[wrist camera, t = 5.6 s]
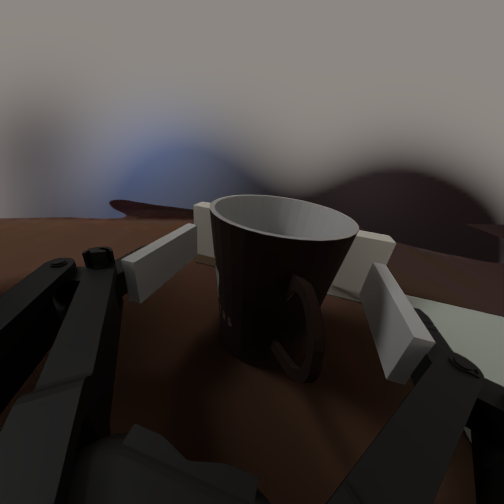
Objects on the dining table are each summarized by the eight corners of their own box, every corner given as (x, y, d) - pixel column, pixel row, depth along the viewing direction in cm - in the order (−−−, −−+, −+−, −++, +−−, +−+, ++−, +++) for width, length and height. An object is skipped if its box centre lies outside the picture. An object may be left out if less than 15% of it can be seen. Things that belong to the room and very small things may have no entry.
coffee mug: (236, 286, 22) (245, 189, 17) (319, 315, 19) (354, 210, 15) (149, 392, 12) (118, 230, 8) (296, 476, 10) (380, 311, 5)
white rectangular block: (194, 261, 25) (193, 205, 22) (209, 248, 29) (209, 198, 26) (368, 304, 22) (396, 243, 19) (360, 283, 25) (383, 229, 22)
